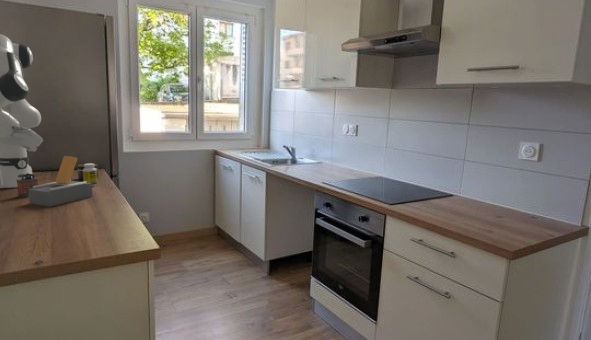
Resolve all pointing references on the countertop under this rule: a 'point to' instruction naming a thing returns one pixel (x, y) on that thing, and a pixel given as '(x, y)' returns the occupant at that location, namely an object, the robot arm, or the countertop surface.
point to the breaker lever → (66, 170)
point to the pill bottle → (90, 174)
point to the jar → (80, 170)
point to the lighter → (26, 184)
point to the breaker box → (59, 193)
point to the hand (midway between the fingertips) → (33, 150)
